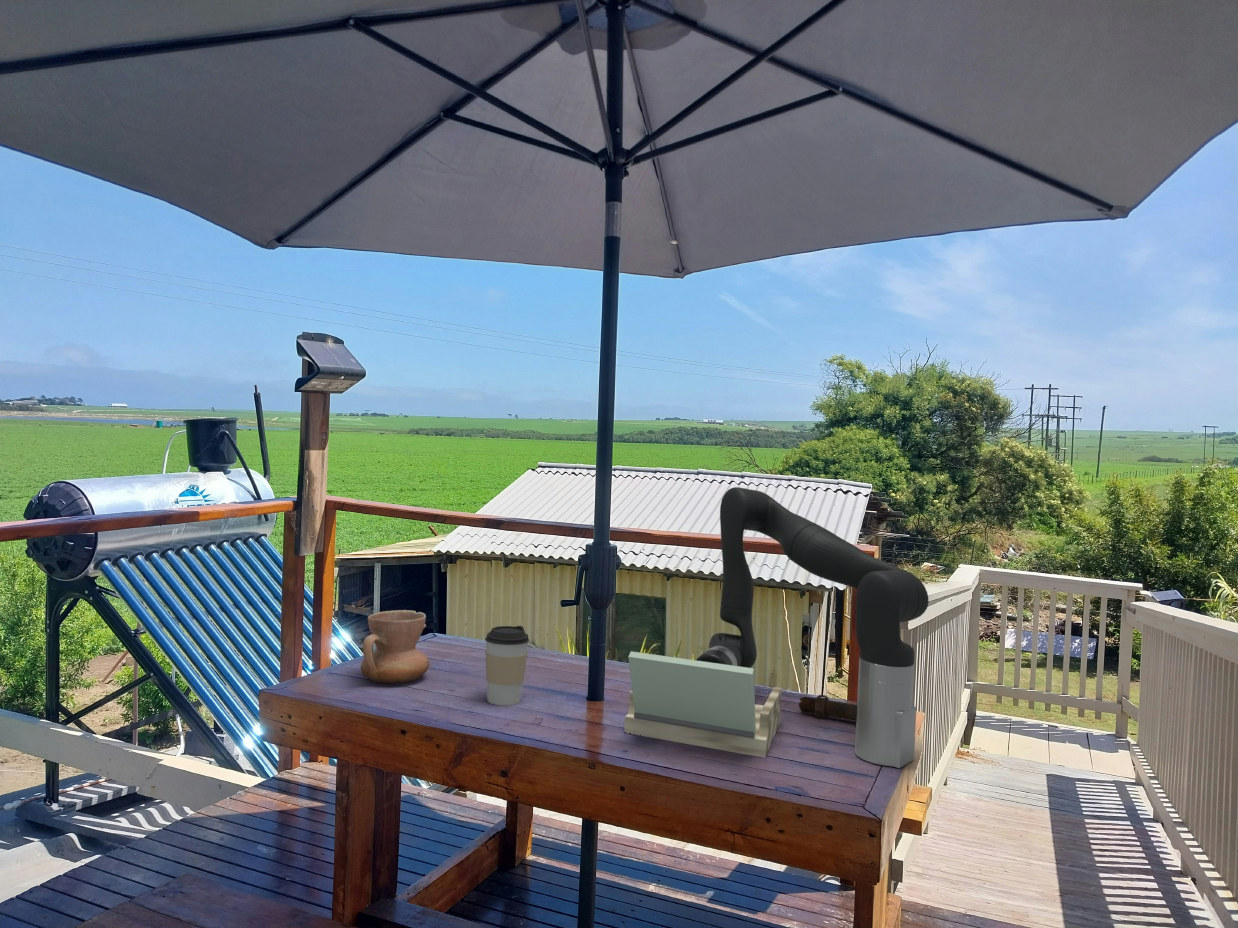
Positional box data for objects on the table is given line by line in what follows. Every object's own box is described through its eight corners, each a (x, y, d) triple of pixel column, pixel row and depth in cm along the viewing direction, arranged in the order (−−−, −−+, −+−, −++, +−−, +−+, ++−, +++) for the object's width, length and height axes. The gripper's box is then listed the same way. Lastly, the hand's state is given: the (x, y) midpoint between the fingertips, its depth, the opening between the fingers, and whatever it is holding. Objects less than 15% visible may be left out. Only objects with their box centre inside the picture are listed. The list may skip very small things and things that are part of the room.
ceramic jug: (398, 665, 176) (400, 605, 176) (446, 675, 169) (448, 612, 169) (337, 683, 160) (339, 617, 160) (386, 695, 153) (388, 626, 153)
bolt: (801, 720, 157) (875, 733, 150) (795, 713, 153) (870, 726, 146) (805, 693, 160) (878, 704, 152) (799, 685, 156) (874, 697, 149)
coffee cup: (494, 709, 147) (498, 633, 147) (474, 696, 155) (478, 624, 155) (533, 703, 153) (537, 630, 153) (512, 691, 160) (516, 621, 160)
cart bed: (655, 702, 157) (656, 669, 157) (779, 723, 148) (781, 688, 148) (624, 732, 138) (626, 694, 138) (764, 757, 130) (766, 717, 130)
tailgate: (637, 711, 139) (630, 651, 133) (755, 731, 132) (753, 668, 126) (634, 719, 137) (627, 658, 132) (753, 740, 130) (751, 676, 124)
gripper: (684, 644, 151) (659, 664, 135) (749, 653, 147) (730, 675, 130) (682, 681, 151) (656, 705, 135) (747, 691, 147) (728, 717, 130)
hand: (693, 690), depth 133 cm, fingers closed
